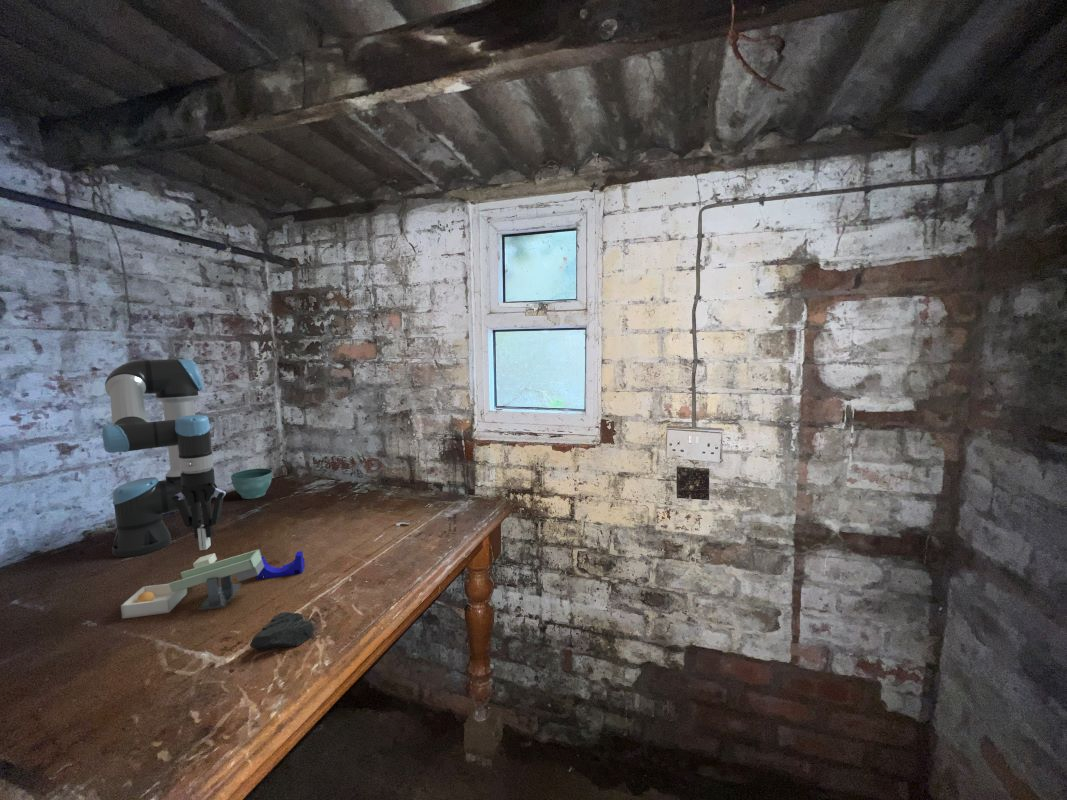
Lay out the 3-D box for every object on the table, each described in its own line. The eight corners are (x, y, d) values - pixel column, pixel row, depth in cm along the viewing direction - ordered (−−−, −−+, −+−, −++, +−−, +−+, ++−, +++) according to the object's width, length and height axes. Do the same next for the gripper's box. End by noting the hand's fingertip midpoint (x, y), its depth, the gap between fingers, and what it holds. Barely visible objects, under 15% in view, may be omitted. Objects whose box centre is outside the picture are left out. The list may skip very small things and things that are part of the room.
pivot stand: (198, 610, 114) (195, 583, 113) (218, 587, 124) (215, 563, 123) (224, 607, 115) (222, 580, 114) (241, 585, 126) (239, 560, 125)
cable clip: (304, 566, 136) (303, 548, 136) (302, 573, 132) (300, 555, 131) (261, 573, 133) (259, 554, 132) (257, 580, 128) (255, 561, 128)
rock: (318, 632, 107) (283, 619, 108) (319, 616, 104) (283, 602, 106) (286, 671, 97) (248, 656, 98) (286, 653, 95) (247, 638, 96)
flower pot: (281, 493, 202) (279, 471, 201) (243, 504, 189) (241, 480, 187) (263, 487, 211) (261, 466, 209) (226, 497, 197) (223, 475, 196)
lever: (175, 601, 114) (168, 584, 113) (202, 574, 128) (196, 558, 127) (257, 576, 118) (250, 559, 117) (274, 552, 132) (268, 537, 131)
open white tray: (122, 618, 110) (120, 606, 110) (144, 598, 119) (143, 586, 119) (168, 612, 113) (167, 600, 112) (187, 593, 122) (186, 581, 121)
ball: (152, 600, 114) (144, 610, 114) (160, 592, 117) (152, 603, 117) (139, 594, 113) (130, 604, 113) (147, 586, 116) (139, 597, 116)
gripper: (162, 475, 117) (171, 556, 120) (217, 472, 120) (225, 551, 124) (177, 467, 124) (185, 544, 128) (229, 464, 127) (236, 539, 131)
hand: (205, 547), depth 126 cm, fingers closed
